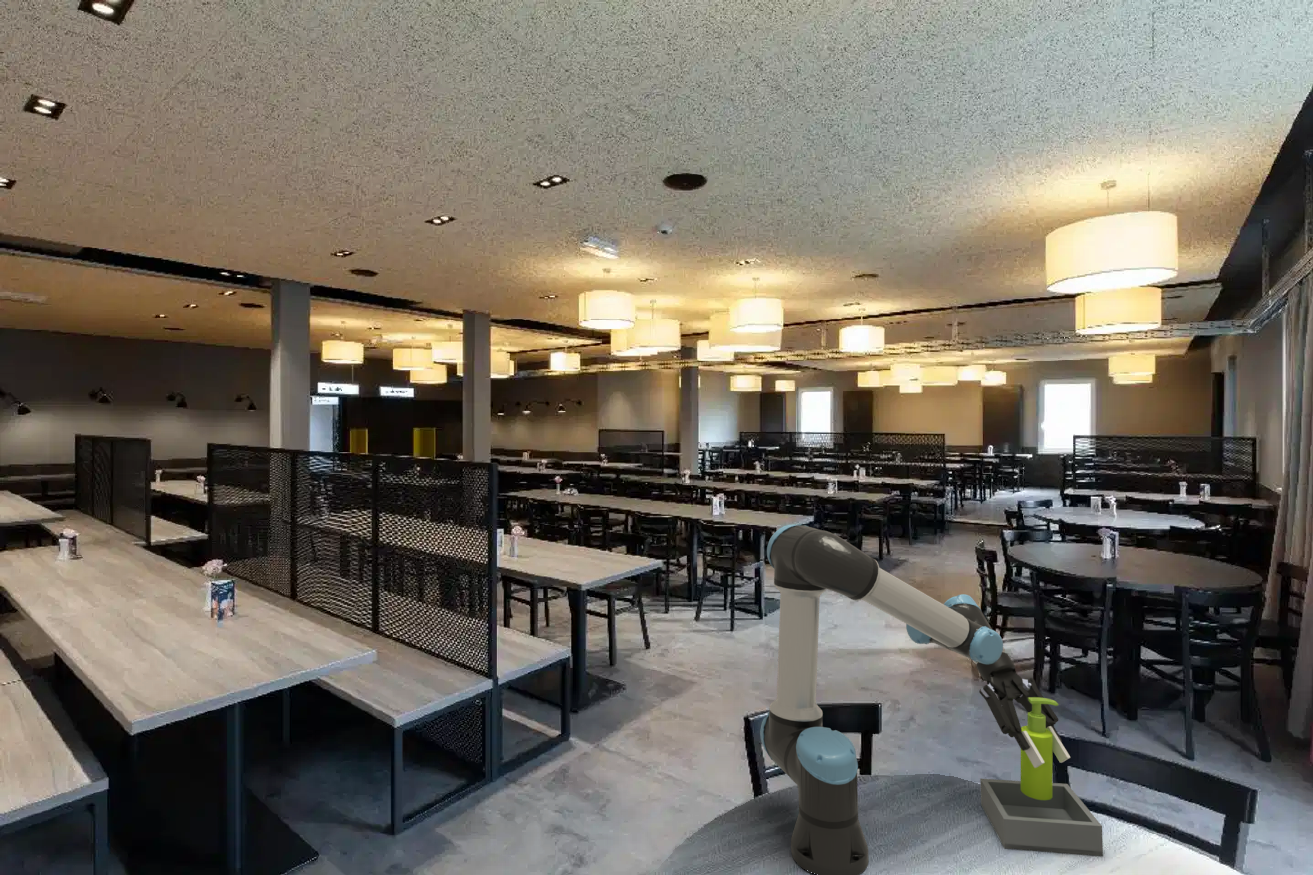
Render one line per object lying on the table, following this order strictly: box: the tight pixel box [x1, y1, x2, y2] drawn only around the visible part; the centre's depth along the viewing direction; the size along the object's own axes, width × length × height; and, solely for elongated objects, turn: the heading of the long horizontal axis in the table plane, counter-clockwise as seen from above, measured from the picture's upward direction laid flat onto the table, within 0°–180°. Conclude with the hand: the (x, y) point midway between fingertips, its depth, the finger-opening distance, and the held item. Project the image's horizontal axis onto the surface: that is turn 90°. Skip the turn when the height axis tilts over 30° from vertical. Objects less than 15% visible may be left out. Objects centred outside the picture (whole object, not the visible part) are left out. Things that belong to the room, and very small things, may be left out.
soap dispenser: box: [1020, 697, 1060, 800], centre depth 141 cm, size 6×7×20 cm
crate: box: [979, 778, 1104, 857], centre depth 140 cm, size 18×16×6 cm
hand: (1052, 762), depth 137 cm, fingers closed on soap dispenser, 6 cm apart
